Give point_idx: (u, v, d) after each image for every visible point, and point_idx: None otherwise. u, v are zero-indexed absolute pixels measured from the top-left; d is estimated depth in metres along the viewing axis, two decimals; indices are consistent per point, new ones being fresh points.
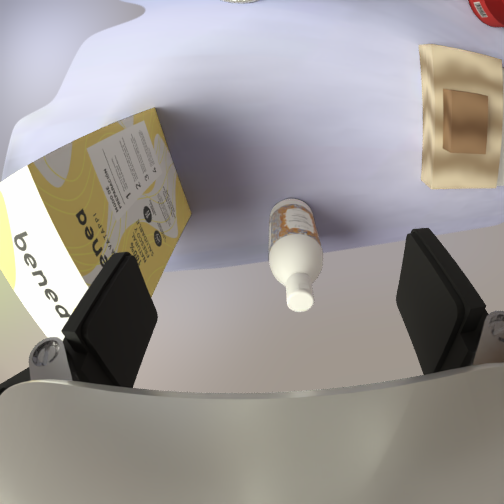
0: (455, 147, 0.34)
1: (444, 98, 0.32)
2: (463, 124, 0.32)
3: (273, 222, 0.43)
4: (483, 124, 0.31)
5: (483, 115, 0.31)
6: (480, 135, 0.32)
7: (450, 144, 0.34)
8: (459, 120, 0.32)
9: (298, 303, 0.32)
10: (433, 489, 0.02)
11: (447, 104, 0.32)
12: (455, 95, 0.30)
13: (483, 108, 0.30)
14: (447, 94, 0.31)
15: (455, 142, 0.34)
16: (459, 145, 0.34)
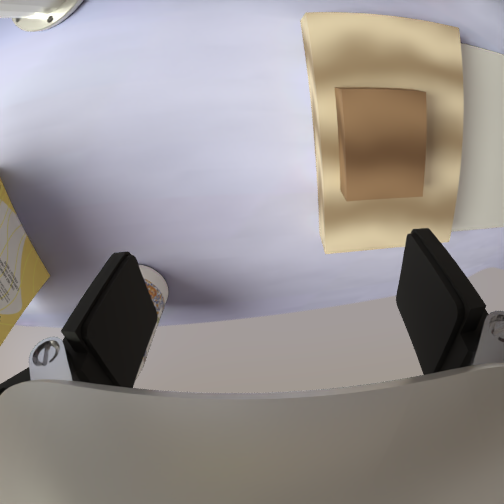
0: (356, 191, 0.23)
1: (337, 104, 0.22)
2: (372, 149, 0.21)
3: None
4: (416, 145, 0.21)
5: (416, 128, 0.20)
6: (410, 165, 0.22)
7: (345, 187, 0.24)
8: (362, 142, 0.21)
9: None
10: (433, 489, 0.02)
11: (340, 115, 0.21)
12: (351, 97, 0.19)
13: (416, 115, 0.20)
14: (338, 97, 0.20)
15: (356, 182, 0.23)
16: (365, 187, 0.23)
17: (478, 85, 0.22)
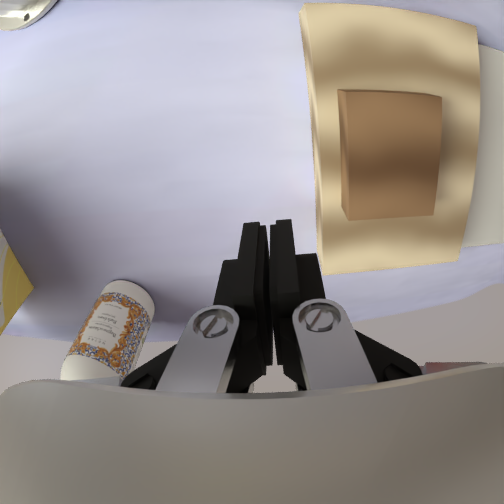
0: (360, 209, 0.21)
1: (339, 109, 0.19)
2: (379, 162, 0.19)
3: None
4: (429, 157, 0.18)
5: (429, 138, 0.17)
6: (422, 180, 0.19)
7: (347, 205, 0.21)
8: (368, 154, 0.18)
9: None
10: (433, 489, 0.02)
11: (343, 122, 0.18)
12: (357, 102, 0.17)
13: (430, 124, 0.17)
14: (342, 101, 0.18)
15: (359, 200, 0.20)
16: (370, 205, 0.20)
17: (493, 90, 0.19)
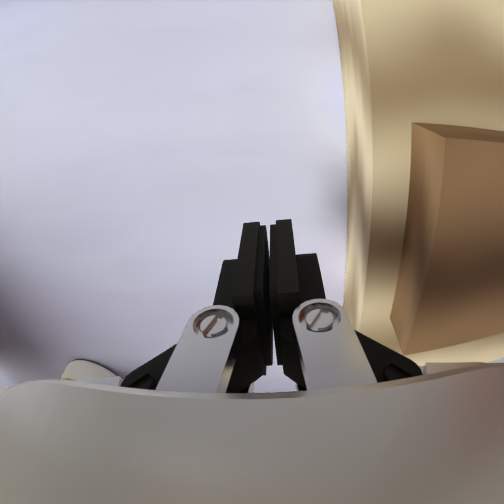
0: (425, 340, 0.11)
1: (415, 164, 0.09)
2: (473, 270, 0.09)
3: None
4: None
5: None
6: None
7: (407, 334, 0.11)
8: (461, 260, 0.09)
9: None
10: (433, 489, 0.02)
11: (423, 193, 0.09)
12: (462, 161, 0.07)
13: None
14: (427, 152, 0.08)
15: (428, 328, 0.11)
16: (441, 332, 0.11)
17: None
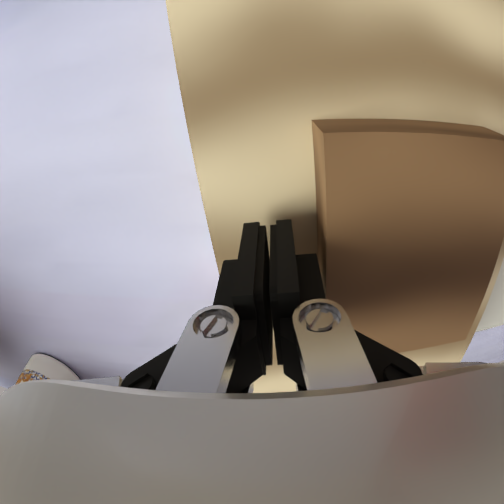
0: None
1: (315, 163, 0.10)
2: (388, 276, 0.10)
3: None
4: (482, 258, 0.09)
5: (488, 226, 0.08)
6: (460, 296, 0.10)
7: None
8: (369, 265, 0.09)
9: None
10: (433, 489, 0.02)
11: (320, 194, 0.09)
12: (350, 156, 0.08)
13: (495, 198, 0.08)
14: (318, 150, 0.09)
15: None
16: None
17: None
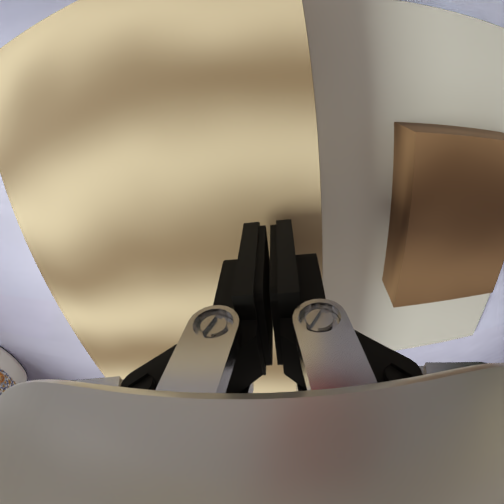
0: None
1: None
2: None
3: None
4: None
5: None
6: None
7: None
8: None
9: None
10: (433, 489, 0.02)
11: None
12: None
13: None
14: None
15: None
16: None
17: (403, 88, 0.11)
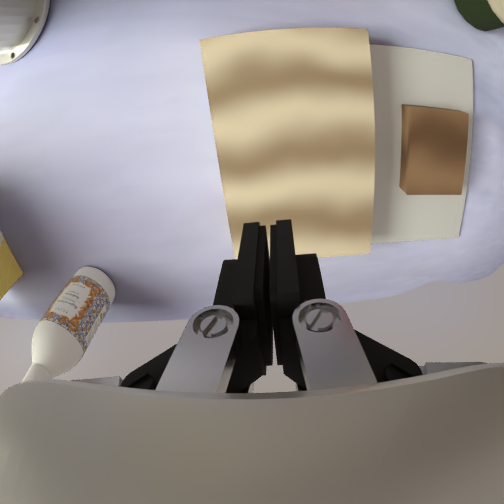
0: None
1: None
2: None
3: None
4: None
5: None
6: None
7: None
8: None
9: None
10: (433, 489, 0.02)
11: None
12: None
13: None
14: None
15: None
16: None
17: (405, 88, 0.24)
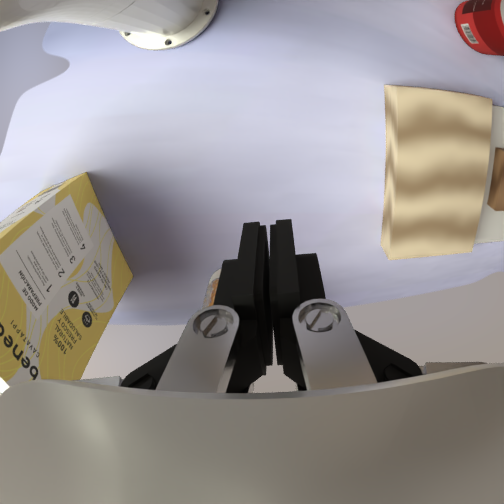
0: None
1: None
2: None
3: (205, 297, 0.41)
4: None
5: None
6: None
7: None
8: None
9: None
10: (433, 489, 0.02)
11: None
12: None
13: None
14: None
15: None
16: None
17: (498, 136, 0.30)
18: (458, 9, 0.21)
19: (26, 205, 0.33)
